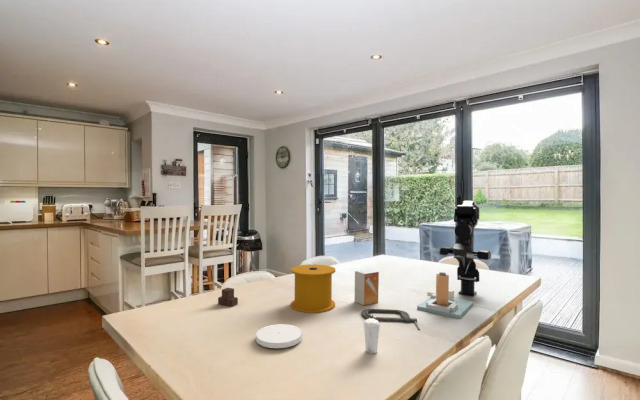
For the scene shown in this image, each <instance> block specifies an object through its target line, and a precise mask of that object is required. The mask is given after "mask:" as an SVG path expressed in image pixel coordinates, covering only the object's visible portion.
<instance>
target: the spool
mask: <svg viewBox="0 0 640 400" xmlns="http://www.w3.org/2000/svg"><path fill="white" fill-rule="evenodd" d="M290 272H291V273H292V274H294V300H292V301H291V302H290V307H291V309H293V310H294V311H297V312H301V313H307V314H308V313H311V314H315V313H316V314H318V313H325V312H326V313H327V312H329V311H331V310H333V309H334V308H336V302H335V301H334V300H333V299H332V298H333V297H332V295H333V293H332V292H333V291H332V290H333V289H332V285H333V284H332V283H333V282H332V279H333V276H332V275H333V274H335V273H336V268H335V267H334V266H331V265H326V264H315V263H314V264H300V265H296V266H293V267H291V269H290Z"/></svg>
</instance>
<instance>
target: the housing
mask: <svg viewBox="0 0 640 400" xmlns="http://www.w3.org/2000/svg"><path fill="white" fill-rule="evenodd" d="M435 293H436V291H435ZM473 305H474V301H471V300H465V299H461V298H455V297H454V300H453V301H448V307H445V306H440V305H436V294H432V295H431V296H429V297H428V298H427V299H425V301H422V302H421V303H420V304H418V305H417V306H416V307H417V308H416V309H417V310H420V311H422V312H424V311H425V312H429V313H432V314H438V315H441V316H442V315H443V316H446V317H452V318H455V319H461V318H462V317H463V316H464V315H465V314H466V313H467V312H468V311H469V310H470V309H471V308H472V307H473Z"/></svg>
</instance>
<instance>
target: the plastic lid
mask: <svg viewBox="0 0 640 400" xmlns="http://www.w3.org/2000/svg"><path fill="white" fill-rule="evenodd" d="M302 339H303V331H302V329H301V328H300V327H298V326H296V325H294V324H293V325H291V324H284V323H278V324H271V325H267V326H263V327H262V328H260V329H258V330H257V331H256V333H255V341H256V343H257V344H258V345H260V346H262V347H264V348H269V349H286V348H290V347H292V346H295V345H297V344H299V343H300V342H301V341H302Z"/></svg>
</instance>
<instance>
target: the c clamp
mask: <svg viewBox="0 0 640 400" xmlns="http://www.w3.org/2000/svg"><path fill="white" fill-rule="evenodd" d="M373 314H391V315H392V314H395V315H399V316H400V317H389V316H388V317H387V316H386V317H385V316H377V317H375V316H374V315H373ZM361 315H362V317H364V319H365V320H367V319H369V318H372V319H375V320H378V322H393V323H394V322H395V323H396V322H398V323H405V324H407V323H408V324H410V323H414V324H415V326H416V329H417V330H418V331H420V330H421V329H420V327H419V325H418V319H417V318H418V317H417V318H415V317H413V318H412V317H411V316H410V314H409V313H408V312H406V311H404V310H400V309H399V310H398V309H387V308H386V309H385V308H384V309H382V308H364V309H362V310H361Z"/></svg>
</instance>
